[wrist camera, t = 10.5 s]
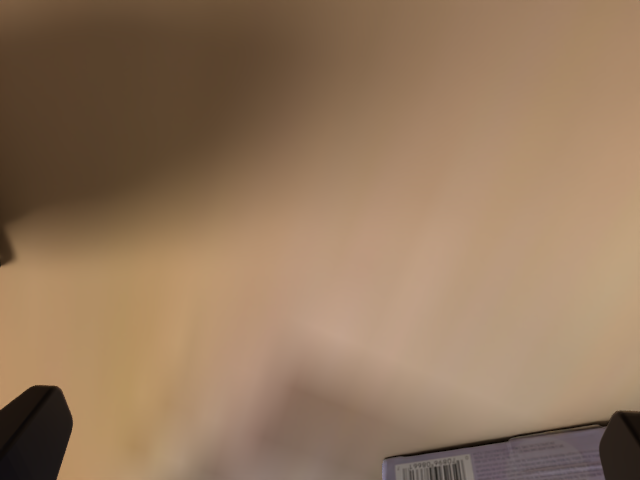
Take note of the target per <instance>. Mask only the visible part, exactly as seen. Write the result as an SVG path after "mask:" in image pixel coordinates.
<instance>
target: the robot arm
mask: <svg viewBox="0 0 640 480" xmlns="http://www.w3.org/2000/svg"><path fill="white" fill-rule="evenodd" d="M0 266H1V265H0ZM72 426H73V420H72V415H71V412H70V410H69V407H68V405H67V402H66V400H65V397H64V395H63V392H62V390H61V389H60V388H59V387H58V386H48V385H35V386H32V387H30V388H29V389H27V390H26V391H25V392H23V393H22V394H21V395H19V396H18V397H17V398H15V399H14V400H13V401H12V402H10V403H9V404H8V405H6V406H5V407H4V408H2V409H1V410H0V480H56V479H57V476H58V473H59V470H60V467H61V464H62V460H63V457H64V454H65V451H66V448H67V445H68V441H69V438H70V435H71V432H72ZM599 456H600V461H601V465H602V469H603V473H604V477H605V480H640V412H638V411H616V412H615V413H613V415H612V417H611V419H610V421H609V423H608V425H607V427H606V429H605V431H604V434H603V436H602V438H601V440H600V444H599Z"/></svg>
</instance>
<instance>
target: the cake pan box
mask: <svg viewBox="0 0 640 480" xmlns="http://www.w3.org/2000/svg"><path fill="white" fill-rule="evenodd" d="M606 427H607V426H605V427H602V426H600V425H589V426H583V427H577V428H570V429H564V430H557V431H548V432H544V433H538V434H531V435H526V436H519V437H514V438H511V439H509V440H508V441H507V442H502V443H495V444H489V445H483V446H477V447H470V448H462V449H456V450H450V451H443V452H436V453H429V454H423V455H416V456H409V457H403V456H399V457H393V458H388V459H384V460H383V464H382V477H383V480H605V477H604V473H603V469H602V465H601V461H600V456H599V444H600V440H601V438H602V436H603V434H604V431H605V429H606Z"/></svg>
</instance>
